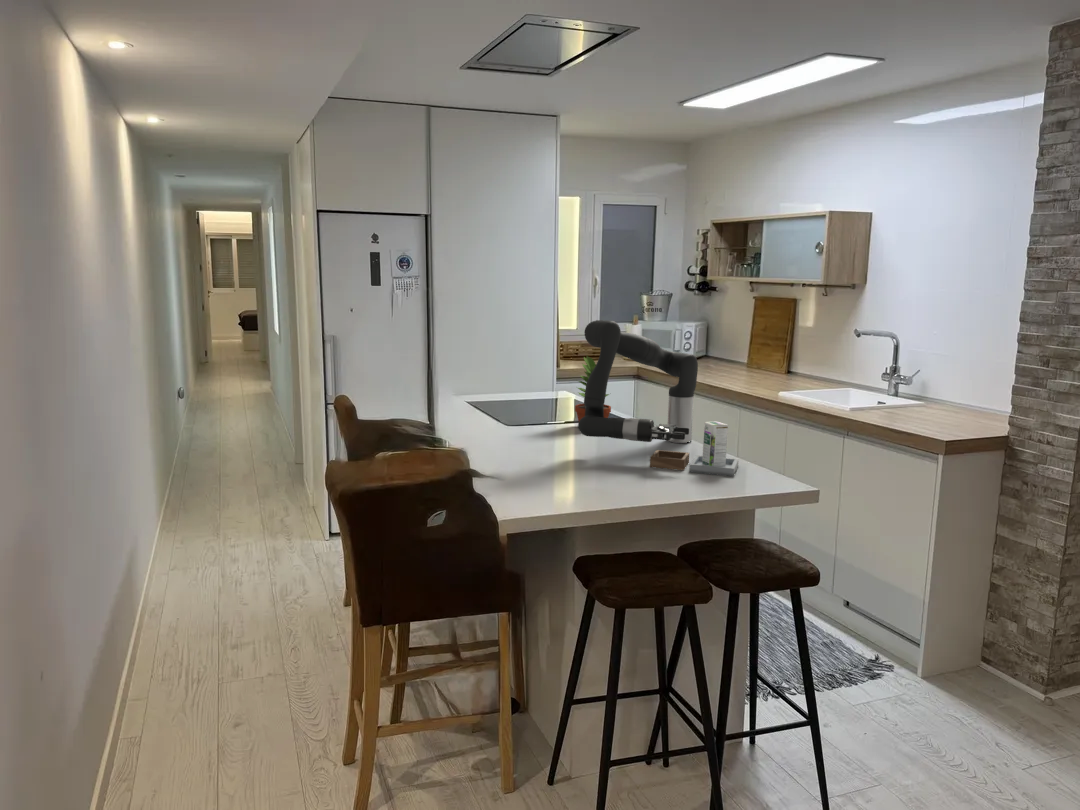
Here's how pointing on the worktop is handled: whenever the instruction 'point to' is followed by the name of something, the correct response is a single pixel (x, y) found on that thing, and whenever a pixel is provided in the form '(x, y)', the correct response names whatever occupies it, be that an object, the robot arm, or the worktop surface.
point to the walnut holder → (669, 459)
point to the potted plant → (581, 407)
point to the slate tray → (714, 467)
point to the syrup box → (715, 444)
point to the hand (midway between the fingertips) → (687, 433)
